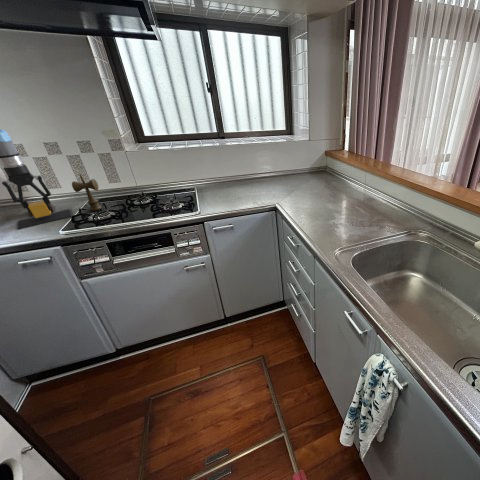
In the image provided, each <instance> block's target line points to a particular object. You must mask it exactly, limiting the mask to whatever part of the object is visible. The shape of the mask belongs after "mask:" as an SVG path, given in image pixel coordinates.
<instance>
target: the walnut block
mask: <svg viewBox="0 0 480 480" xmlns="http://www.w3.org/2000/svg"><path fill="white" fill-rule="evenodd" d="M40 201H43V199H39V200H35V201H30V202H27V203H28V204H30V203H35V202H40ZM53 205H54V204H52V202H51V201H50V203H49V206H50V208H51V213H55V209H54V208H55V207H54V206H53ZM25 210H27V212H28V213H29V215H30V218H32V217H34V215H33V214H32V215H31V213H30V212H29V210H28V208H25Z"/></svg>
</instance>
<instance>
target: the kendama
mask: <svg viewBox="0 0 480 480" xmlns="http://www.w3.org/2000/svg"><path fill="white" fill-rule="evenodd" d="M78 175H79V178H80V180H81V182H79V181H75V180H74V181H72V182H71V187H72V189H73V191H74V192H75V193H79V192H80V191H82V190H84V189H85V193H86V195H87V204H89V206H90V209H89V210H90V212H91V211H92V212H96V211H100V210H102V209H103V206H101V205H100V204H99V200H98V199H97V198H96V197H94V195H93V194H92V192H91V190H94V191H99V183H98V181H97V180H96V179H95V178H91V179H90V180H89V181H88V182H86V181H85V180H84V177H83V176H82V174H81V173H79V174H78ZM90 189H91V190H90Z"/></svg>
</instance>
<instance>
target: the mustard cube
mask: <svg viewBox="0 0 480 480" xmlns="http://www.w3.org/2000/svg"><path fill="white" fill-rule="evenodd" d="M39 201H40V200H39ZM34 202H35V201H34ZM29 203H30V202H29ZM28 207H29V209H30V211H31V212H32V214H33V215H34V216H33V217H35V218H39V217H43V216H47V215H51V213H52V212H51V211H49V209H48V207H47V206H46V204H45V202H44V201H40V202H35V203H30V204H29V206H28Z"/></svg>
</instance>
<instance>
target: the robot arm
mask: <svg viewBox="0 0 480 480" xmlns="http://www.w3.org/2000/svg"><path fill="white" fill-rule="evenodd" d="M0 166H1V167H3V171H4V173H5V174H6V176H7V178H8V179H6V180H2V181H1V185H3V186H4V187H5V188H6V190H7V192H8V194H9V196H10V198H11V199H12V201H13V202H14V203H20V204H21V206H22V208H23V209H26V208H28V210H29V212H30V213H31V215H32V212H31V211H30V209H29V207H28V206H29V204H28V203H29V202H28V201H27V200H24V194H23V193H24V192H23V187H25V186H30V187H31V188H33V189H34V190H35V191H36V192H37V193H38V194H39V195H40V196H41V197H42V198H41V200H43V201H44V202H45V204H46V206H47V207H48V209H49V211H51V208H50V206H49V203H50V202H51V200H50V198H49V197H50V196H52V192H50V190H49V188H48V187H47V185H46V184H45V182H44V180H43V178H42V175H34V174H32V173H31V172H30V170H29V168H28V167H27V165H26V164H25V161H24V159H23V158H22V156H21V154H20V152H19V151H18V149H17V148H16V146H15V144H14V142H13V139H12V138H11V137H10V135H9V134H8V132H7V131H6V130H4V129H0ZM34 179H35V180H36V181H38V183H39V184H40V186H41V188H42V189H43V190H42V189H41V188H39V187H38V186H37V184H35V183H34V182H33V181H34ZM11 183H12V184H13V185H15V186H16V187H17V193H18V198H17V196H16V194H15V192H14V190H13V188H12V186H11ZM28 210H27V211H28ZM29 212H28V213H29ZM30 213H29V214H30ZM31 215H30V216H31Z"/></svg>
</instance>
